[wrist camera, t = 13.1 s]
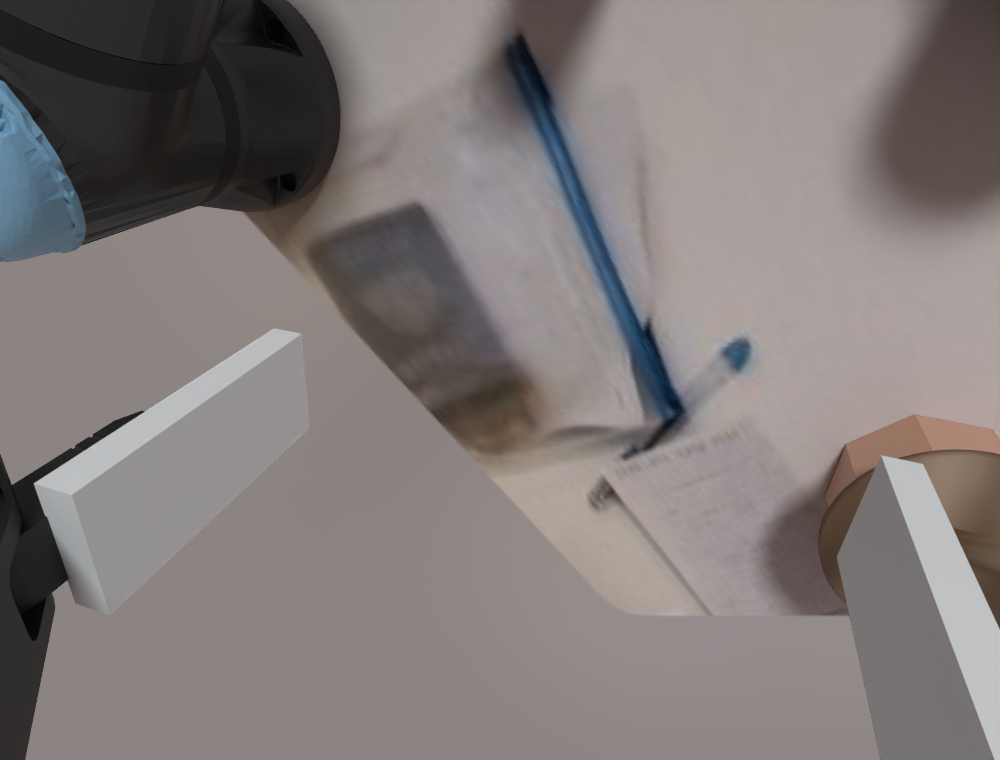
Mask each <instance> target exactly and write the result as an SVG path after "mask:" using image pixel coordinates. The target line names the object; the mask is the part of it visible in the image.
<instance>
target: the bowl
mask: <svg viewBox="0 0 1000 760" xmlns="http://www.w3.org/2000/svg"><path fill="white" fill-rule="evenodd" d="M951 449H960V450H977V451H984V452H992V453H996V454H1000V440H999V438H998V437H997V435H996V434H995V433H994V431H993V430H990V429H985V428H980V427H974V426H969V425H964V424H959V423H954V422H949V421H944V420H938V419H933V418H928V417H923V416H918V415H913V416H911V417H908V418H906V419H904V420H901V421H899V422H897V423H894V424H892V425H890V426H887V427H885V428H883V429H880V430H878V431H876V432H873V433H871V434H869V435H866V436H864V437H862V438H859V439H857V440H855V441H852V442H850V443H848V444H846V445H845V448H844V450H843V453H842V455H841V458H840V460H839V463H838V465H837V468H836V470H835V473H834V475H833V478H832V480H831V483H830V485H829V488H828V490H827V493H826V495H825V497H826V502H827V507H829V506H830V505H831V503H832V502H833V500H834V499H835V498H836V496H837V495H838V494H839V493H840V492H841V491H842V490H843V489H844V488H845V487H846V486H848V485H849V484H850V483H851V482H852V481H854V480H855V479H856V478H858V477H859V476H861V475H863V474H864V473H866V472H867V471H869V470H871V469H873V468H875V467H876V466H877V463H878V461H879V459H880V456H881V455H882V456H887V457H892V458H900V457H904V456H908V455H912V454H916V453H922V452H928V451H935V450H951Z"/></svg>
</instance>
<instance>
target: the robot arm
mask: <svg viewBox="0 0 1000 760" xmlns="http://www.w3.org/2000/svg"><path fill="white" fill-rule="evenodd" d="M339 128H340V107H339V98H338V91H337V86H336V82H335V78H334V74H333V71H332V68H331V65H330V63H329V60H328V58H327V55H326V53H325V51H324V49H323V47H322V45H321V43H320V41H319V39H318V38H317V36H316V35H315V33H314V31H313V30H312V28H311V27H310V26H309V24H308V23H307V22H306V20H305V19H304V18H303V17H302V15H301V14H300V13H299V12H298V11H297V10H296V9H295V8H294V7H293V6H292V5H291V4H290V3H289V2H288V1H287V0H0V261H6V262H11V261H20V260H24V259H28V258H32V257H35V256H40V255H44V254H48V253H52V252H62V253H67V252H71V251H74V250H76V249H77V248H79V246H81V245H84V244H87V243H90V242H93V241H96V240H99V239H102V238H105V237H108V236H111V235H114V234H117V233H120V232H123V231H125V230H128V229H131V228H134V227H137V226H140V225H143V224H146V223H149V222H152V221H155V220H158V219H161V218H164V217H167V216H169V215H172V214H175V213H178V212H181V211H184V210H187V209H190V208H193V207H196V206H205V207H213V208H221V209H228V210H235V211H243V212H259V211H266V210H271V209H275V208H278V207H280V206H283V205H286V204H288V203H291V202H294V201H296V200H298V199H300V198H301V197H303V196H305V195H306V194H307V193H309V192H310V191H311V190H312V189H313V188H315V186H316V185H317V184H318V183H319V182H320V181H321V179H322V178H323V177H324V175H325V173H326V172H327V170H328V168H329V166H330V164H331V162H332V159H333V157H334V154H335V150H336V147H337V142H338V137H339ZM309 428H310V425H309V415H308V402H307V391H306V380H305V368H304V356H303V346H302V334H300V333H295V332H290V331H285V330H280V329H276V328H274V329H272V330H271V331H269V332H268V333H266V334H265V335H263V336H261V337H260V338H259V339H257V340H255V341H254V342H252V343H251V344H249V345H248V346H246V347H244V348H243V349H241V350H240V351H238V352H237V353H235V354H234V355H232V356H231V357H229V358H227V359H226V360H224V361H223V362H221V363H220V364H218V365H217V366H215V367H213V368H212V369H210V370H209V371H207V372H206V373H204V374H203V375H201V376H200V377H198V378H196V379H195V380H193V381H192V382H190V383H189V384H187V385H186V386H184V387H182V388H181V389H179V390H178V391H176V392H175V393H173V394H172V395H170V396H169V397H167V398H165V399H164V400H162V401H161V402H160V403H158V404H156V405H155V406H153V407H151V408H150V409H148V410H147V411H140V412H137V413H134V414H132V415H129V416H127V417H123V418H121V419H118V420H115V421H113V422H112V423H110V424H109V425H107V426H105V427H104V428H102V429H101V430H99V431H98V432H96V433H94V434H93V437H92V438H90V437H88V438H86V439H85V440H83V441H82V442H80V443H79V444H77V445H76V446H75V448H74V449H72V448H71V449H69V450H67V451H66V452H64V453H63V454H61V455H59V456H58V457H56V458H55V459H53V460H52V461H50V462H49V463H47V464H45V465H43V466H42V467H41V468H39V469H37V470H35V471H34V472H33V473H31V474H29V475H27V476H26V477H24V478H23V479H21V480H20V481H18V482H16V483H15V484H13V485H11V482H10V479H9V477H8V474H7V472H6V469H5V466H4V463H3V460H2V458H1V455H0V760H25V757H26V752H27V747H28V742H29V737H30V732H31V726H32V722H33V717H34V712H35V707H36V702H37V697H38V692H39V687H40V682H41V677H42V672H43V667H44V662H45V657H46V652H47V647H48V642H49V637H50V631H51V627H52V622H53V617H54V611H55V603H54V597H53V595H52V592H53V591H54V590H56V589H57V588H58V587H59V586H61V585H62V584H63V583H64V582H65V581H67V580H68V582H69V586H70V589H71V591H72V594H73V597H74V600H75V603H76V604H79V605H82V606H84V607H88V608H90V609H93V610H96V611H99V612H102V613H105V614H108V615H111V614H112V613H113V612H114V611H115V610H116V609H117V608H118V607H119V606H121V605H122V604H123V603H124V602H125V601H126V600H127V599H128V598H129V597H130V596H131V595H132V594H133V593H134V592H135V591H136V590H138V589H139V588H140V587H141V586H142V585H143V584H144V583H145V582H146V581H147V580H148V579H149V578H150V577H151V576H152V575H154V574H155V573H156V572H157V571H158V570H159V569H160V568H161V567H162V566H163V565H164V564H165V563H166V562H167V561H168V560H169V559H171V558H172V557H173V556H174V555H175V554H176V553H177V552H178V551H179V550H180V549H181V548H182V547H183V546H184V545H185V544H187V542H189V541H190V540H191V539H192V538H193V537H194V536H195V535H196V534H197V533H198V532H199V531H200V530H201V529H202V528H204V526H206V525H207V524H208V523H209V522H210V521H211V520H212V519H213V518H214V517H215V516H216V515H217V514H218V513H219V512H221V511H222V510H223V509H224V508H225V507H226V506H227V505H228V504H229V503H230V502H231V501H232V500H233V499H234V498H235V497H236V496H237V495H239V494H240V493H241V492H242V491H243V490H244V489H245V488H246V487H247V486H248V485H249V484H250V483H251V482H252V481H253V480H255V479H256V478H257V477H258V476H259V475H260V474H261V473H262V472H263V471H264V470H265V469H266V468H267V467H268V466H269V465H271V464H272V463H273V462H274V461H275V460H276V459H277V458H278V457H279V456H280V455H281V454H282V453H283V452H284V451H285V450H286V449H288V448H289V447H290V446H291V445H292V443H294V442H295V441H296V440H297V439H298V438H299V437H300V436H301V435H302V434H304V432H306V431H307V430H308V429H309ZM837 560H838V565H839V569H840V574H841V579H842V583H843V588H844V593H845V597H846V602H847V607H848V611H849V616H850V621H851V625H852V629H853V634H854V639H855V644H856V648H857V653H858V658H859V662H860V667H861V672H862V676H863V681H864V686H865V690H866V695H867V700H868V704H869V709H870V714H871V718H872V723H873V728H874V732H875V737H876V742H877V746H878V751H879V756H880V760H1000V628H999V627H998V625H997V622H996V620H995V618H994V616H993V614H992V612H991V609H990V607H989V605H988V603H987V601H986V599H985V597H984V594H983V592H982V590H981V588H980V586H979V584H978V581H977V579H976V577H975V575H974V573H973V571H972V569H971V566H970V564H969V562H968V560H967V558H966V556H965V553H964V551H963V549H962V547H961V545H960V543H959V540H958V538H957V536H956V534H955V532H954V530H953V528H952V525H951V523H950V521H949V519H948V517H947V515H946V512H945V510H944V508H943V506H942V504H941V502H940V499H939V497H938V495H937V493H936V491H935V489H934V487H933V484H932V482H931V480H930V478H929V476H928V474H927V471H926V469H925V467H924V465H923V464H921V463H916V462H911V461H906V460H901V459H897V458H892V457H887V456H882V455H881V456H880V459H879V461H878V463H877V466H876V468H875V470H874V473H873V475H872V477H871V479H870V482H869V484H868V486H867V489H866V491H865V493H864V496H863V498H862V500H861V502H860V505H859V507H858V509H857V512H856V514H855V516H854V519H853V521H852V523H851V525H850V528H849V530H848V532H847V535H846V537H845V539H844V542H843V544H842V546H841V548H840V551H839V553H838V555H837Z"/></svg>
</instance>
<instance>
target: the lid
mask: <svg viewBox="0 0 1000 760" xmlns="http://www.w3.org/2000/svg"><path fill="white" fill-rule="evenodd" d="M897 459H901V460H906V461H911V462H916V463H921V464H923V465H924V467H925V469H926V471H927V474H928V476H929V478H930V480H931V482H932V484H933V487H934V489H935V491H936V493H937V495H938V497H939V499H940V502H941V504H942V506H943V508H944V510H945V512H946V515H947V517H948V519H949V521H950V523H951V525H952V528H953V530H954V532H955V534H956V536H957V538H958V540H959V543H960V545H961V547H962V549H963V551H964V553H965V556H966V558H967V560H968V562H969V564H970V566H971V569H972V571H973V573H974V575H975V577H976V579H977V581H978V584H979V586H980V588H981V590H982V592H983V594H984V597H985V599H986V601H987V603H988V605H989V607H990V609H991V612H992V614H993V616H994V618H995V620H996V622H997V625H998V627H999V628H1000V454H996V453H992V452H984V451H977V450H960V449H951V450H935V451H928V452H922V453H916V454H912V455H908V456H904V457H900V458H897ZM875 468H876V467H875ZM875 468H873V469H871V470H869V471H867V472H866V473H864V474H863V475H861V476H859V477H858V478H856V479H855V480H854V481H852V482H851V483H850V484H849V485H848V486H846V487H845V488H844V489H843V490H842V491H841V492H840V493H839V494H838V495H837V496H836V498H835V499H834V500H833V502H832V503H831V505H830V506H829V507H828V509H827V511H826V513H825V515H824V517H823V520H822V523H821V527H820V530H819V540H818V544H819V554H820V560H821V564H822V568H823V571H824V574H825V576H826V578H827V580H828V582H829V584H830V585H831V587H832V588H833V590H834V591H835V593H836V594H837V595H838V596H839V597H840V598H841V599H842V600H843V602H844V603H846V604H847V602H846V597H845V593H844V588H843V583H842V579H841V574H840V569H839V565H838V560H837V555H838V553H839V551H840V548H841V546H842V544H843V542H844V539H845V537H846V535H847V532H848V530H849V528H850V525H851V523H852V521H853V519H854V516H855V514H856V512H857V509H858V507H859V505H860V502H861V500H862V498H863V496H864V493H865V491H866V489H867V486H868V484H869V482H870V479H871V477H872V475H873V473H874V470H875Z"/></svg>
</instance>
